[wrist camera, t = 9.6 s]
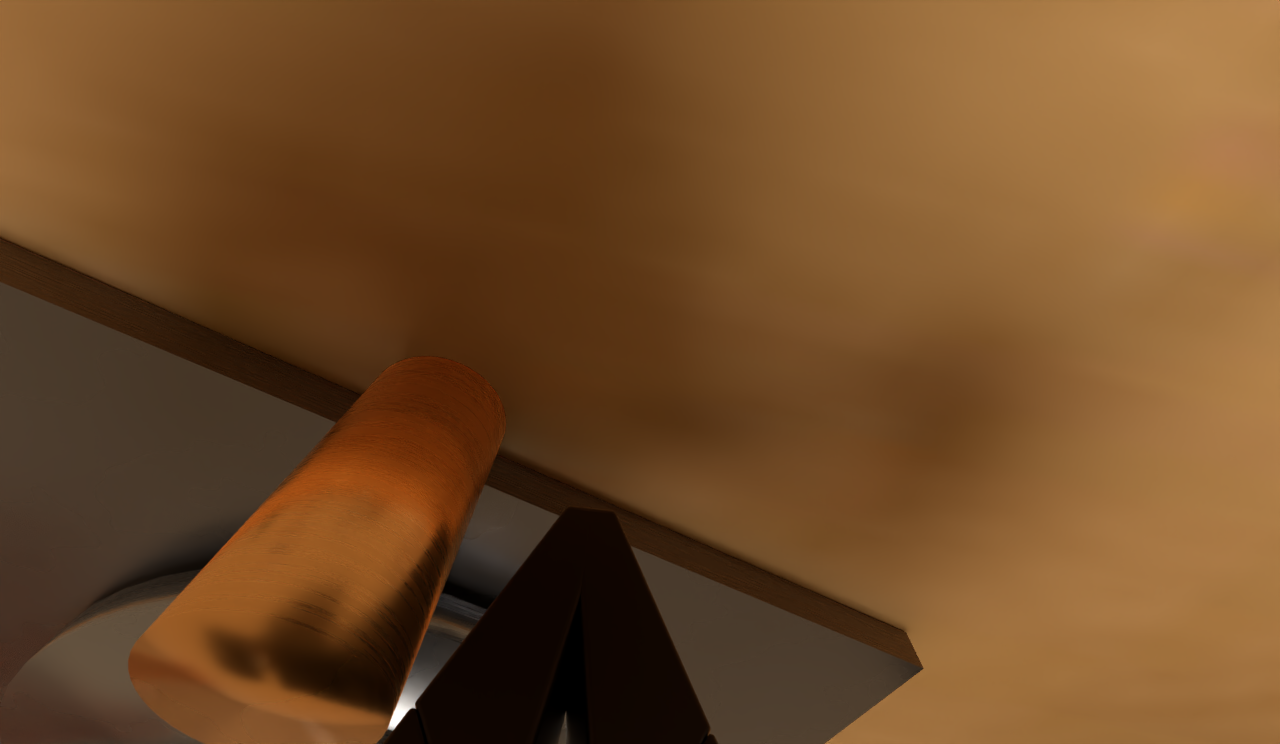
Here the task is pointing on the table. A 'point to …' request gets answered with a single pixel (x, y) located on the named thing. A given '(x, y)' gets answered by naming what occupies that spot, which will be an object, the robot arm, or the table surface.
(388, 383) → the turntable
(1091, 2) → the table surface
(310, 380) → the base plate
